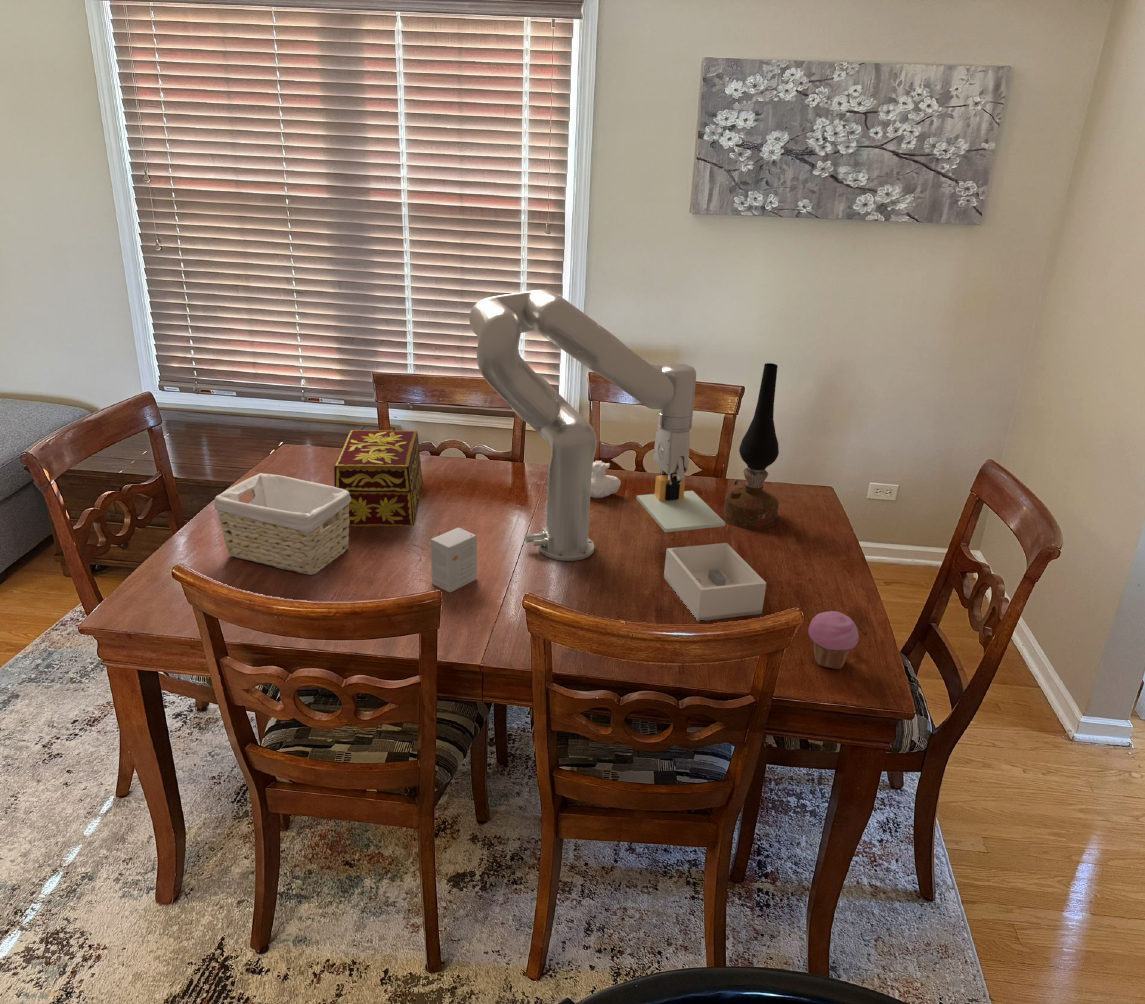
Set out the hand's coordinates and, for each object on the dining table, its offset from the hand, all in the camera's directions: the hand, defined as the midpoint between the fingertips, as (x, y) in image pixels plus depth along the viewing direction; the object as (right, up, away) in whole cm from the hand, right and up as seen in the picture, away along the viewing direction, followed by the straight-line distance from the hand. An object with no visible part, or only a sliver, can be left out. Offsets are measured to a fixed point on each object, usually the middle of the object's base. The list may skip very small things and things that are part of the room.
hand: (668, 495), depth 193 cm
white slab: (+2, -4, -5) cm, 7 cm away
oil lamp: (+22, -6, +17) cm, 29 cm away
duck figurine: (-16, 0, +26) cm, 30 cm away
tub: (+7, -21, -19) cm, 29 cm away
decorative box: (-70, -2, +16) cm, 72 cm away
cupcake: (+24, -31, -40) cm, 56 cm away
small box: (-47, -18, -19) cm, 54 cm away
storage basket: (-84, -13, -11) cm, 86 cm away
